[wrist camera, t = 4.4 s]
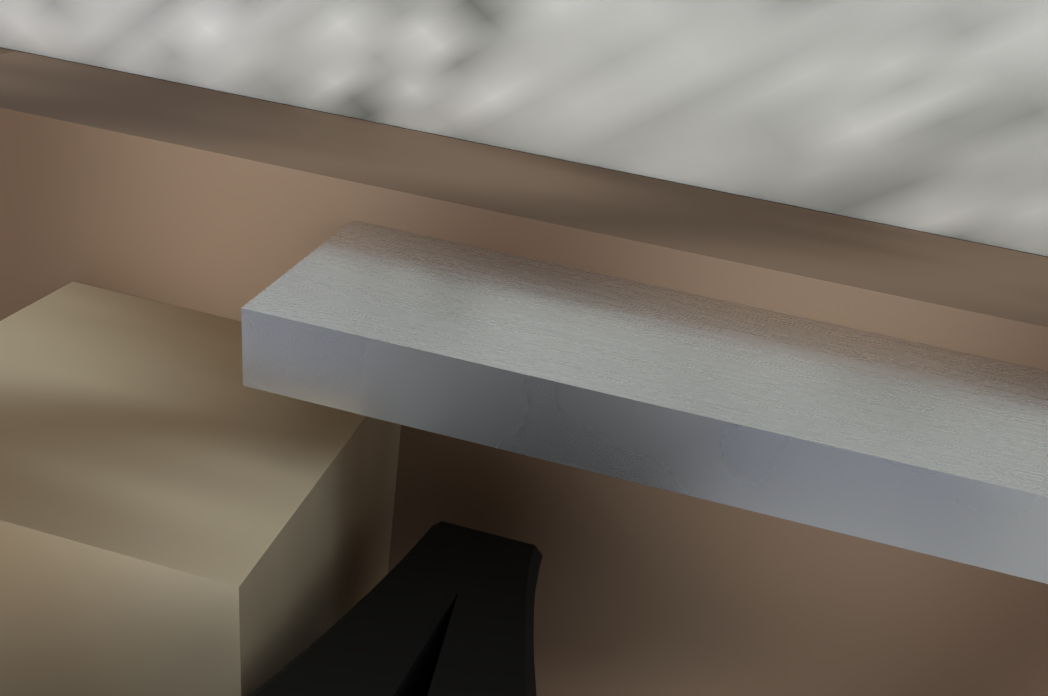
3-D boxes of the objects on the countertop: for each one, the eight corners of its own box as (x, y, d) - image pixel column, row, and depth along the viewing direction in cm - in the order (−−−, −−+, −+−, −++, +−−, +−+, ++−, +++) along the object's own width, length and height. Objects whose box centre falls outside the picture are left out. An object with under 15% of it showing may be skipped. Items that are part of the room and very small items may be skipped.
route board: (1320, 311, 10) (1480, 418, 8) (1011, 783, 14) (1061, 937, 12) (-410, -35, 13) (-632, -26, 11) (-243, 436, 18) (-382, 510, 15)
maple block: (406, 361, 10) (238, 587, 7) (383, 626, 12) (246, 902, 9) (72, 281, 11) (-241, 451, 7) (104, 548, 13) (-127, 779, 9)
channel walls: (1043, 369, 9) (1149, 520, 6) (807, 841, 12) (825, 1036, 10) (352, 220, 10) (240, 308, 7) (330, 701, 13) (252, 852, 11)
